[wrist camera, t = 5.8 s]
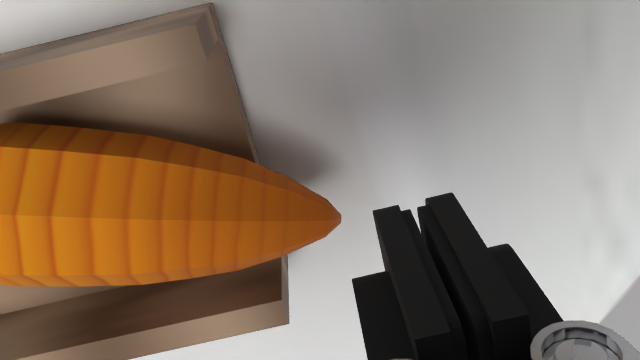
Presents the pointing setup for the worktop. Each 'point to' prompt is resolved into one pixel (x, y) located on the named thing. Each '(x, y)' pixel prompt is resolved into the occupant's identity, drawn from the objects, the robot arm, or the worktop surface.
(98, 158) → the carrot
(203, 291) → the walnut U-rest
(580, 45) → the worktop surface
